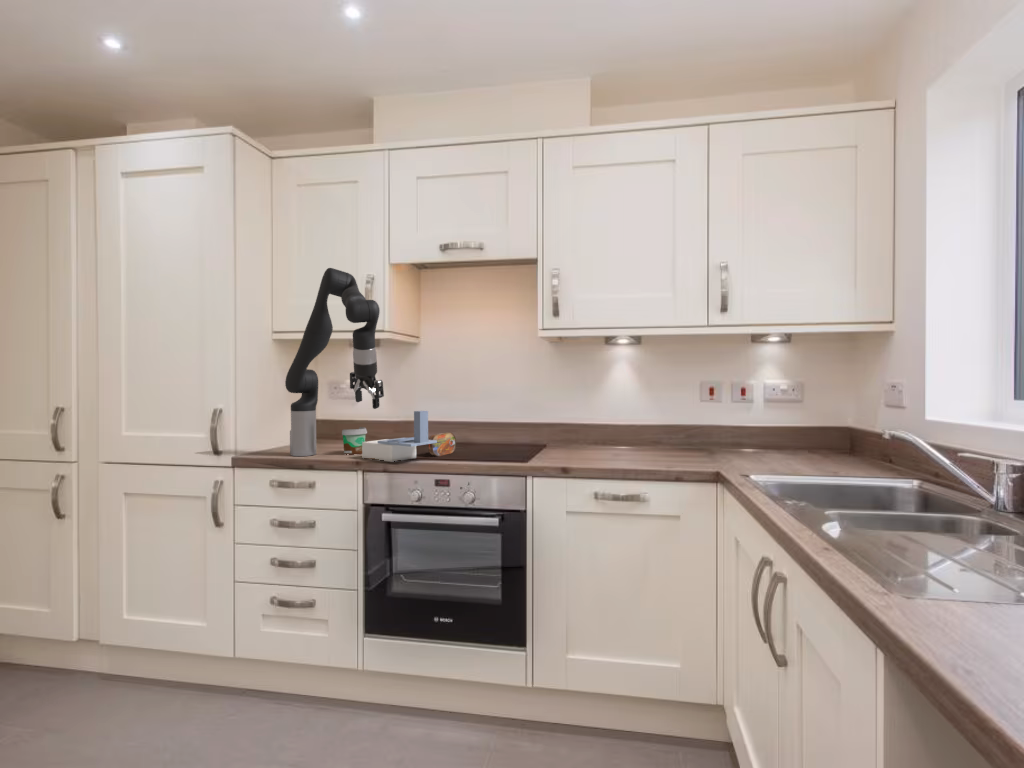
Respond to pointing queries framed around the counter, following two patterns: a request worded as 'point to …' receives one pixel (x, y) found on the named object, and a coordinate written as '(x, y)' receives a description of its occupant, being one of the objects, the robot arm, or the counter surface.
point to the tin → (442, 444)
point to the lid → (419, 432)
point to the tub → (387, 451)
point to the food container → (353, 440)
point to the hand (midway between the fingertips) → (367, 404)
